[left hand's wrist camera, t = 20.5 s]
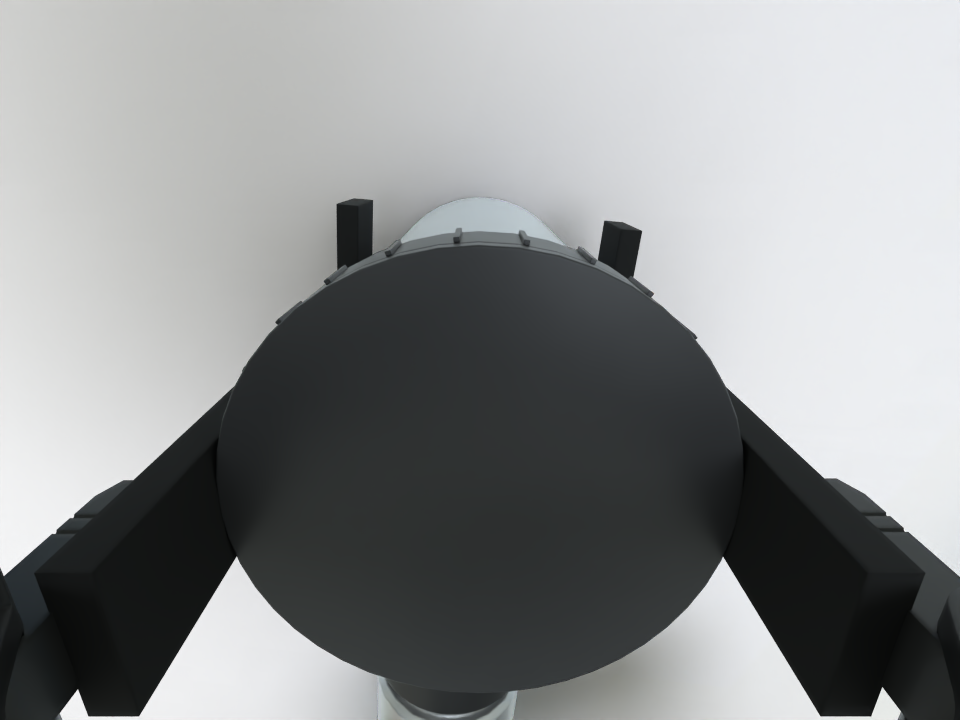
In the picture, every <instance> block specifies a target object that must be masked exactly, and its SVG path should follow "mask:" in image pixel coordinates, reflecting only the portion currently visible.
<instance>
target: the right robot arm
mask: <svg viewBox="0 0 960 720" xmlns="http://www.w3.org/2000/svg"><path fill="white" fill-rule="evenodd" d="M372 231H373V200H365V199H351V200H348V201H345V202H341V203H338V204H337V270H338V269H340V268H341V267H342V266H344V265H346V266H347V268H349V267H350V266H352V265H354V264H356V263H358V262H360V261H362V260H364V259H366V258H368V257H370V256H372ZM641 234H642V231H641V230H639V229H636V228H634V227H632V226H630V225H627V224H625V223H623V222H613V221H604V226H603V232H602V238H601V244H600V250H599V256H598V261H600V262H602V263H604V264H606V265H608V266H610V267H611V268H612V269H614V270H615V271H617V272H618V273H620V274H621V275H622V276H624V277H625V278H627V279H628V278H629V277H630V276H632V277H633V276H634V271H635V265H636V260H637V255H638V250H639V245H640V239H641ZM517 693H518V691H511V692H492V693H468V692H450V691H442V690H435V689H428V688H422V687H417V686H413V685H409V684H405V683H400V682H396V681H393V680H390V679H387V678H384V677H381V676H378V714H377V720H513V716H514V711H515V705H516V699H517Z"/></svg>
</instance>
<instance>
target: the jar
mask: <svg viewBox="0 0 960 720" xmlns="http://www.w3.org/2000/svg"><path fill="white" fill-rule="evenodd" d="M456 228H462V232H473V231H486V232H502V233H515V234H519V230H523V231H525V233H526V234H527V236H530V237H535V238H540V239H545V240H549V241H552V242H555V243H558V244H560V245H563V246H566V245H565V244H564V243H563V242H562V241H561V240H560V239H559V238H558V237H557V236H556V235H555V234H554V233H553V232H552V231H551V230H550V229H549V228H548V227H547V226H546V225H545V224H544V223H543V222H542V221H541V220H540V219H538V218H537V217H536V216H535V215H534V214H532V213H530V212H529V211H527V210H526V209H524V208H522V207H520V206H518V205H516V204H513V203H511V202H507V201H504V200H501V199H495V198H488V197H473V198H464V199H460V200H456V201H452V202H449V203H447V204H444V205H442V206H439V207H438V208H436V209H434V210H432V211H431V212H429V213H428V214H426V215H425V216H424V217H422V218H421V219H420V220H419V221H418V222H417V223H416V224H415V225H414V226H413V227H412V228H411V229H410V230H409V231H408V232H407V233H406V234H405V235H404V236H403V237H402V238H401V239H400V240H401V242H402V243H405V242H408V241H411V240H416V239H420V238H425V237H430V236H435V235H440V234H445V233H455V231H456ZM566 247H567V246H566Z"/></svg>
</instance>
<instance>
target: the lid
mask: <svg viewBox="0 0 960 720" xmlns="http://www.w3.org/2000/svg"><path fill="white" fill-rule="evenodd" d="M324 283H325V285H324V286H322V287H321V288H320V289H319V290H317V291H316V292H315V293H314V294H312V295H311V296H310V297H309V298H308V299H306V300H305V301H304V302H302V301H300V302H299V303H298V304H296V305H295V306H294V307H293V308H291V309H290V310H289V311H288V312H286V313H285V314H284V315H283V316H281V317H280V318H279V319H278V320H277V321H276V322H275V323H276V324H278V326H277V327H276V328H275V329H274V330H272V331H271V332H270V333H269V335H268V336H267V337H266V339H265V340H264V341H263V342H262V344H261V345H260V346H259V348H258V349H257V350H256V352H255V353H254V354H253V356H252V357H251V358H250V359H249V361H248V363H247V364H246V366H245V367H244V368H243V370H242V374H241V376H240V377H239V379H238V381H237V383H236V385H235V387H234V388H233V390H232V393H231V396H230V399H229V402H228V405H227V408H226V410H225V413H224V416H223V419H222V424H221V429H220V435H219V440H218V446H217V462H216V483H217V491H218V498H219V504H220V509H221V513H222V518H223V521H224V525H225V528H226V531H227V535H228V538H229V540H230V542H231V544H232V547H233V549H234V551H235V553H236V555H237V557H238V560H239V562H240V564H241V565H242V567H243V569H244V570H245V572H246V573H247V575H248V576H249V578H250V580H251V581H252V583H253V584H254V586H255V587H256V589H257V590H258V591H259V592H260V593H261V595H262V596H263V597H264V598H265V599H266V601H267V602H268V603H269V604H270V605H271V607H272V608H273V609H274V610H275V611H276V612H277V613H278V614H279V615H280V616H281V617H283V618H284V619H285V620H286V621H287V622H288V623H289V624H290V625H291V626H292V627H293V628H294V629H296V630H297V631H298V632H300V633H301V634H302V635H304V636H305V637H306V638H308V639H309V640H310V641H312V642H313V643H314V644H316V645H317V646H319V647H320V648H322V649H324V650H325V651H327V652H329V653H331V654H332V655H334V656H336V657H337V658H339V659H341V660H343V661H345V662H347V663H349V664H351V665H354V666H356V667H358V668H360V669H362V670H365V671H367V672H369V673H372V674H375V675H378V676H381V677H384V678H387V679H390V680H393V681H396V682H400V683H405V684H409V685H413V686H417V687H422V688H428V689H435V690H442V691H450V692H468V693H492V692H511V691H518V690H525V689H531V688H538V687H543V686H547V685H551V684H555V683H559V682H563V681H567V680H570V679H573V678H576V677H579V676H581V675H584V674H587V673H590V672H593V671H595V670H597V669H600V668H602V667H604V666H606V665H608V664H610V663H612V662H615V661H617V660H619V659H621V658H622V657H624V656H626V655H627V654H629V653H631V652H632V651H634V650H636V649H638V648H639V647H641V646H643V645H644V644H646V643H647V642H648V641H650V640H651V639H652V638H653V637H655V636H656V635H657V634H659V633H660V632H661V631H663V630H664V629H665V628H667V627H668V626H669V625H670V624H671V623H672V622H673V621H674V620H675V619H676V618H677V617H678V616H679V615H680V614H681V613H682V612H683V611H685V610H686V609H687V608H688V606H689V605H690V604H691V603H692V602H693V600H694V599H695V598H696V597H697V595H698V594H699V593H700V592H701V591H702V589H703V588H704V587H705V586H706V584H707V583H708V581H709V579H710V578H711V576H712V575H713V573H714V571H715V570H716V568H717V566H718V565H719V563H720V562H721V560H722V557H723V555H724V553H725V551H726V548H727V546H728V544H729V542H730V539H731V537H732V535H733V531H734V528H735V524H736V520H737V515H738V511H739V506H740V501H741V496H742V489H743V481H744V467H743V446H742V440H741V435H740V430H739V425H738V419H737V416H736V413H735V410H734V408H733V405H732V402H731V399H730V397H729V394H728V391H727V388H726V386H725V385H724V383H723V381H722V379H721V377H720V376H719V374H718V372H717V370H716V368H715V367H714V365H713V363H712V361H711V359H710V358H709V357H708V355H707V354H706V353H705V351H704V350H703V349H702V348H701V346H700V345H699V344H698V343H697V341H696V339H697V337H696V335H695V334H694V333H693V332H691V331H690V330H689V329H688V328H687V327H685V326H684V325H683V324H682V323H680V322H679V321H678V320H677V319H676V318H674V317H673V316H672V315H671V314H670V313H669V312H668V311H667V310H666V309H664V308H663V307H662V306H661V305H660V304H659V303H657V302H656V301H655V300H654V299H652V298H651V297H652V296H653V295H654V293H652V292H651V291H650V290H649V289H647V288H646V287H645V286H643V285H642V284H641V283H640V282H638V281H637V280H636V279H634V278H633V277H632V276H630V277H629V278H628V279H627V278H625V277H624V276H622V275H621V274H620V273H618V272H617V271H615V270H614V269H612V268H611V267H610V266H608V265H606V264H604V263H602V262H600V261H598V260H596V259H595V258H594V257H593V256H592V255H591V254H589V253H588V252H587V251H586V250H585V249H584V248H582V247H578V249H577V250H575V249H572V248H569V247H566V246H563V245H560V244H558V243H555V242H552V241H549V240H545V239H540V238H535V237H530V236H527V234H526V233H525V231H523V230H519V234H515V233H502V232H486V231H473V232H462V228H456V231H455V233H445V234H440V235H435V236H430V237H425V238H420V239H416V240H411V241H408V242H405V243H402V242H401V240H397V241H395V242H394V243H393V244H392V245H391V246H390V247H389V248H388V249H385V250H383V251H380V252H377V253H375V254H374V255H372V256H370V257H368V258H366V259H364V260H362V261H360V262H358V263H356V264H354V265H352V266H350V267H349V268H347V266H346V265H344V266H342V267H341V268H340V269H338V270H337V271H336V272H335V273H333V274H332V275H331V276H330V277H328V278H327V279H326V280H324Z"/></svg>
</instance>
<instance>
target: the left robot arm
mask: <svg viewBox="0 0 960 720" xmlns="http://www.w3.org/2000/svg"><path fill="white" fill-rule="evenodd" d="M234 387H235V386H234ZM234 387H233V388H234ZM233 388H232V389H231V390H230V391H229V392H228V393H227V394H226V395H225V396H223V397H222V398H221V399H220V400H219V401H218V402H217V403H216V404H215V405H214V406H213V407H212V408H211V409H210V410H208V411H207V412H206V413H205V414H204V415H203V416H202V417H201V418H200V419H199V420H198V421H197V422H196V423H194V424H193V425H192V426H191V427H190V428H189V429H188V430H187V431H186V432H185V433H184V434H183V435H182V436H181V437H179V438H178V439H177V440H176V441H175V442H174V443H173V444H172V445H171V446H170V447H169V448H168V449H167V450H165V451H164V452H163V453H162V454H161V455H160V456H159V457H158V458H157V459H156V460H155V461H154V462H153V463H151V464H150V465H149V466H148V467H147V468H146V469H145V470H144V471H143V472H142V473H141V474H140V475H139V476H138V477H136V478H135V479H134V480H123V481H122V482H120V483H118V484H116V485H114V486H113V487H111V488H109V489H107V490H105V491H103V492H102V493H100V494H98V495H96V496H95V497H94V498H92V499H91V500H90V501H89V502H88V503H87V504H86V505H85V506H83V507H82V508H81V509H80V510H79V511H78V512H77V513H75V514H74V518H70V519H69V520H67V521H66V522H65V523H64V524H63V525H62V526H61V527H59V528H58V529H57V532H56V534H52V535H50V536H49V537H48V538H47V539H46V540H45V541H44V542H42V543H41V544H40V545H39V546H38V547H37V548H36V549H34V550H33V551H32V552H31V553H30V554H29V555H28V556H27V557H25V558H24V559H23V560H22V561H21V562H20V563H19V564H17V565H16V566H15V567H14V568H13V569H12V570H11V571H9V572H8V573H7V574H6V575H5V576H3V573H2V571H1V569H0V720H62V718H61V716H60V712H61V711H62V709H63V708H64V707H65V705H66V704H67V703H68V701H69V700H70V699H71V697H72V696H73V695H74V693H75V692H76V691H77V689H78V690H79V693H80V695H81V698H82V700H83V703H84V706H85V708H86V711H87V714H88V716H139V715H140V714H141V712H142V711H143V709H144V707H145V706H146V704H147V702H148V701H149V699H150V697H151V696H152V694H153V693H154V691H155V689H156V688H157V686H158V684H159V683H160V681H161V679H162V678H163V676H164V675H165V673H166V671H167V670H168V668H169V666H170V665H171V663H172V661H173V660H174V658H175V656H176V655H177V653H178V652H179V650H180V648H181V647H182V645H183V643H184V642H185V640H186V638H187V637H188V635H189V634H190V632H191V630H192V629H193V627H194V625H195V624H196V622H197V620H198V619H199V617H200V615H201V614H202V612H203V611H204V609H205V607H206V606H207V604H208V602H209V601H210V599H211V597H212V596H213V594H214V593H215V591H216V589H217V588H218V586H219V584H220V583H221V581H222V579H223V578H224V576H225V575H226V573H227V571H228V570H229V568H230V566H231V565H232V563H233V561H234V560H235V558H236V556H237V555H236V553H235V551H234V549H233V547H232V544H231V542H230V540H229V538H228V535H227V531H226V528H225V525H224V521H223V518H222V513H221V509H220V504H219V498H218V491H217V483H216V462H217V446H218V440H219V435H220V429H221V424H222V419H223V416H224V413H225V410H226V408H227V405H228V402H229V399H230V396H231V393H232V390H233ZM727 391H728V394H729V397H730V399H731V402H732V405H733V408H734V410H735V413H736V416H737V419H738V425H739V430H740V435H741V440H742V446H743V467H744V481H743V489H742V496H741V501H740V506H739V511H738V515H737V520H736V524H735V528H734V531H733V535H732V537H731V539H730V542H729V544H728V546H727V548H726V551H725V553H724V555H723V557H724V559H725V560H726V562H727V564H728V565H729V567H730V569H731V570H732V572H733V573H734V575H735V577H736V578H737V580H738V582H739V583H740V585H741V587H742V588H743V590H744V591H745V593H746V595H747V596H748V598H749V600H750V601H751V603H752V605H753V606H754V608H755V610H756V611H757V613H758V614H759V616H760V618H761V619H762V621H763V623H764V624H765V626H766V628H767V629H768V631H769V632H770V634H771V636H772V637H773V639H774V641H775V642H776V644H777V646H778V647H779V649H780V651H781V652H782V654H783V655H784V657H785V659H786V660H787V662H788V664H789V665H790V667H791V669H792V670H793V672H794V673H795V675H796V677H797V678H798V680H799V682H800V683H801V685H802V687H803V688H804V690H805V691H806V693H807V695H808V696H809V698H810V700H811V701H812V703H813V705H814V706H815V708H816V710H817V711H818V713H819V714H820V716H871V715H872V712H873V710H874V707H875V705H876V702H877V699H878V697H879V694H880V691H881V689H882V687H883V688H884V690H885V691H886V692H887V694H888V695H889V696H890V697H891V699H892V700H893V701H894V703H895V704H896V705H897V707H898V708H899V709H900V711H901V713H900V716H899V718H898V720H960V577H959V576H958V575H957V574H956V573H955V572H953V571H952V570H951V569H950V568H949V567H948V566H947V565H945V564H944V563H943V562H942V561H941V560H940V559H939V558H937V557H936V556H935V555H934V554H933V553H932V552H931V551H929V550H928V549H927V548H926V547H925V546H924V545H923V544H921V543H920V542H919V541H918V540H917V539H916V538H915V537H913V536H912V535H911V534H910V533H909V532H904V528H903V527H902V526H901V525H900V524H899V523H897V522H896V521H895V520H894V519H893V518H892V517H890V516H886V512H885V511H884V510H882V509H881V508H880V507H879V506H878V505H877V504H876V503H874V502H873V501H872V500H871V499H870V498H869V497H868V496H866V495H865V494H864V493H862V492H860V491H858V490H856V489H855V488H853V487H851V486H849V485H847V484H846V483H844V482H842V481H840V480H838V479H824V478H823V477H822V476H821V475H820V474H819V473H818V472H817V471H816V470H815V469H813V468H812V467H811V466H810V465H809V464H808V463H807V462H806V461H805V460H804V459H803V458H802V457H801V456H800V455H798V454H797V453H796V452H795V451H794V450H793V449H792V448H791V447H790V446H789V445H788V444H787V443H786V442H784V441H783V440H782V439H781V438H780V437H779V436H778V435H777V434H776V433H775V432H774V431H773V430H772V429H771V428H769V427H768V426H767V425H766V424H765V423H764V422H763V421H762V420H761V419H760V418H759V417H758V416H757V415H755V414H754V413H753V412H752V411H751V410H750V409H749V408H748V407H747V406H746V405H745V404H744V403H743V402H742V401H740V400H739V399H738V398H737V397H736V396H735V395H734V394H733V393H732V392H731V391H730V390H729V389H728V388H727Z"/></svg>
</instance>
